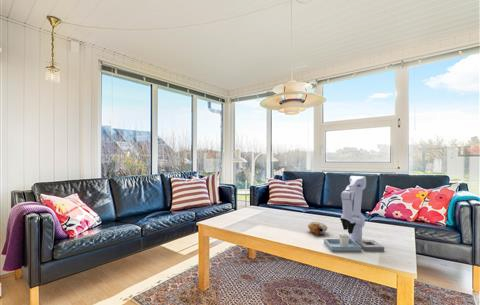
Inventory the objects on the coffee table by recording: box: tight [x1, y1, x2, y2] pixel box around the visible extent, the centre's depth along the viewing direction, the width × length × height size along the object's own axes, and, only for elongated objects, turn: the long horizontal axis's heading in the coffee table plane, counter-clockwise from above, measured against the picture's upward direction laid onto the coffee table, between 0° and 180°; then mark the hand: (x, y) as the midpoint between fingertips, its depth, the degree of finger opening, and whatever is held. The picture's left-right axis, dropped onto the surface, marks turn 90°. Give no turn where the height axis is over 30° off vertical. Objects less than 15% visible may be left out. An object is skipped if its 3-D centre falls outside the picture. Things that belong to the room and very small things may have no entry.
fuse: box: [339, 233, 350, 246], centre depth 151 cm, size 4×4×7 cm
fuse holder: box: [355, 239, 385, 252], centre depth 151 cm, size 12×12×2 cm
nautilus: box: [307, 221, 328, 237], centre depth 179 cm, size 8×22×15 cm
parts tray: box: [323, 238, 363, 253], centre depth 151 cm, size 14×18×3 cm
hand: (347, 231), depth 152 cm, fingers open, 7 cm apart
